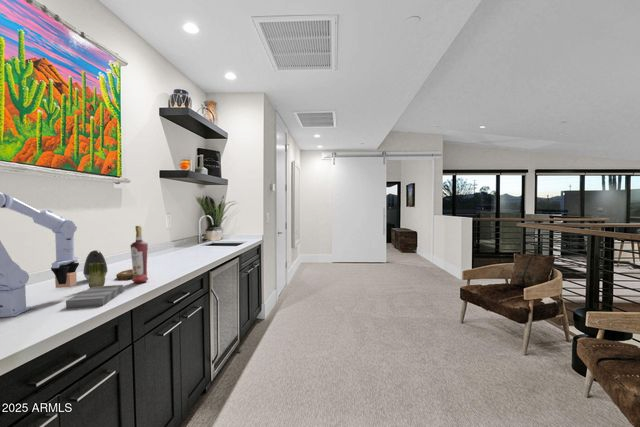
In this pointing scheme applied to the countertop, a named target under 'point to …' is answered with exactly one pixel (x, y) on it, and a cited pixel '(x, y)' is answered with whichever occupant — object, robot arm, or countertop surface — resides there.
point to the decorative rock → (125, 275)
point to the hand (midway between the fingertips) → (66, 282)
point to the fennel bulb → (96, 275)
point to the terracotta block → (67, 280)
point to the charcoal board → (94, 296)
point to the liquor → (139, 257)
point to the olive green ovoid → (94, 258)
